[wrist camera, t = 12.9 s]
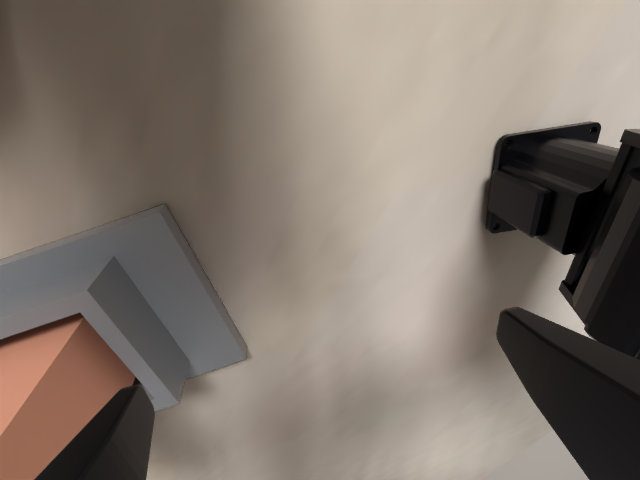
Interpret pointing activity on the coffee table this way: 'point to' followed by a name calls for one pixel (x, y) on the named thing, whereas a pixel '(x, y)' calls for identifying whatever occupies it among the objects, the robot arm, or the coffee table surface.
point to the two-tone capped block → (52, 391)
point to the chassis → (127, 299)
